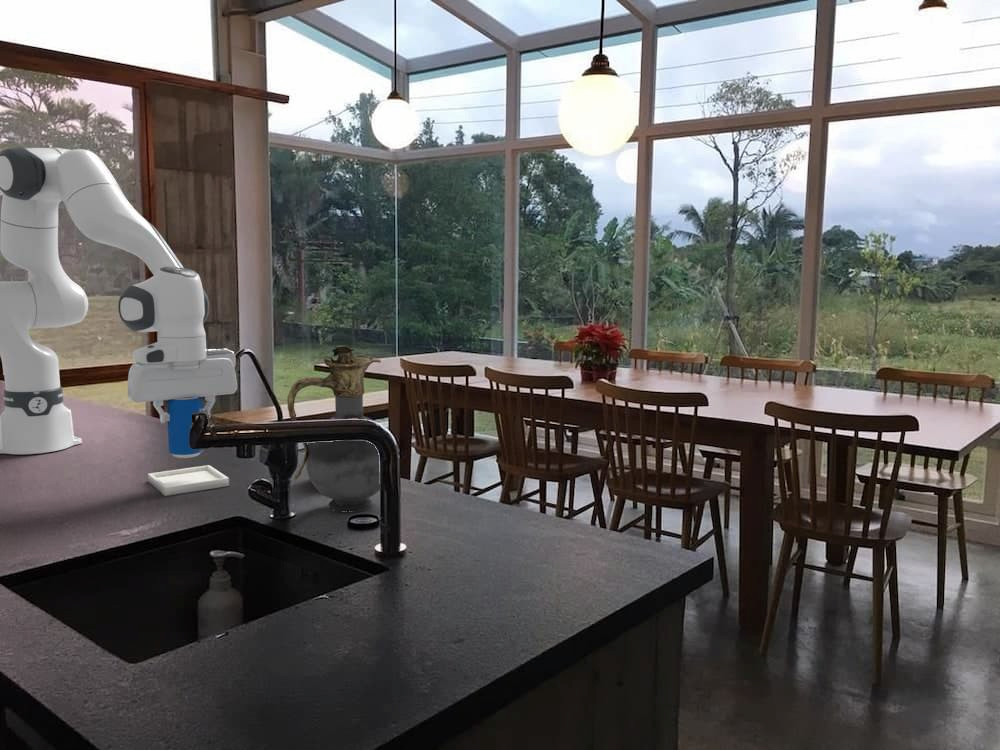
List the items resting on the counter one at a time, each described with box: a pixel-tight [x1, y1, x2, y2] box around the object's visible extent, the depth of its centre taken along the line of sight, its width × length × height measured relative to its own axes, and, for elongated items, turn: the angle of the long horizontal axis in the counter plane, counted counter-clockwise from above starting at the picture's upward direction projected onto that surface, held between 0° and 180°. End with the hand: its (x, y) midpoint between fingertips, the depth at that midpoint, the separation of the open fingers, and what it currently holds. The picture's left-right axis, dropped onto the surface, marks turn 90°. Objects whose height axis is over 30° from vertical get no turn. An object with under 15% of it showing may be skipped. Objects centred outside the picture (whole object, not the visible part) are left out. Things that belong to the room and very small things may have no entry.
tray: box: [147, 464, 230, 497], centre depth 162 cm, size 12×12×2 cm
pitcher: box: [287, 345, 381, 513], centre depth 146 cm, size 11×19×30 cm, turn 121°
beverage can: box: [166, 396, 204, 459], centre depth 160 cm, size 6×6×12 cm
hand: (185, 420), depth 160 cm, fingers closed on beverage can, 6 cm apart
